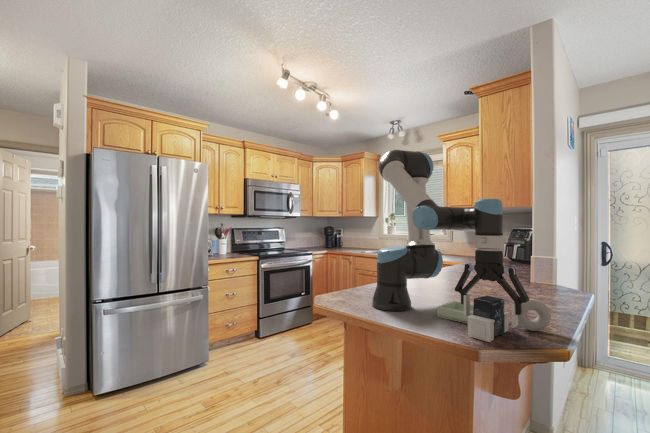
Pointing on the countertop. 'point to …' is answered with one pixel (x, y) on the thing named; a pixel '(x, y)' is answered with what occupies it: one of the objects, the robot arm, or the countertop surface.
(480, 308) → the box
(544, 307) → the donut
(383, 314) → the countertop surface
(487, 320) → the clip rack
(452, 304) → the tray
